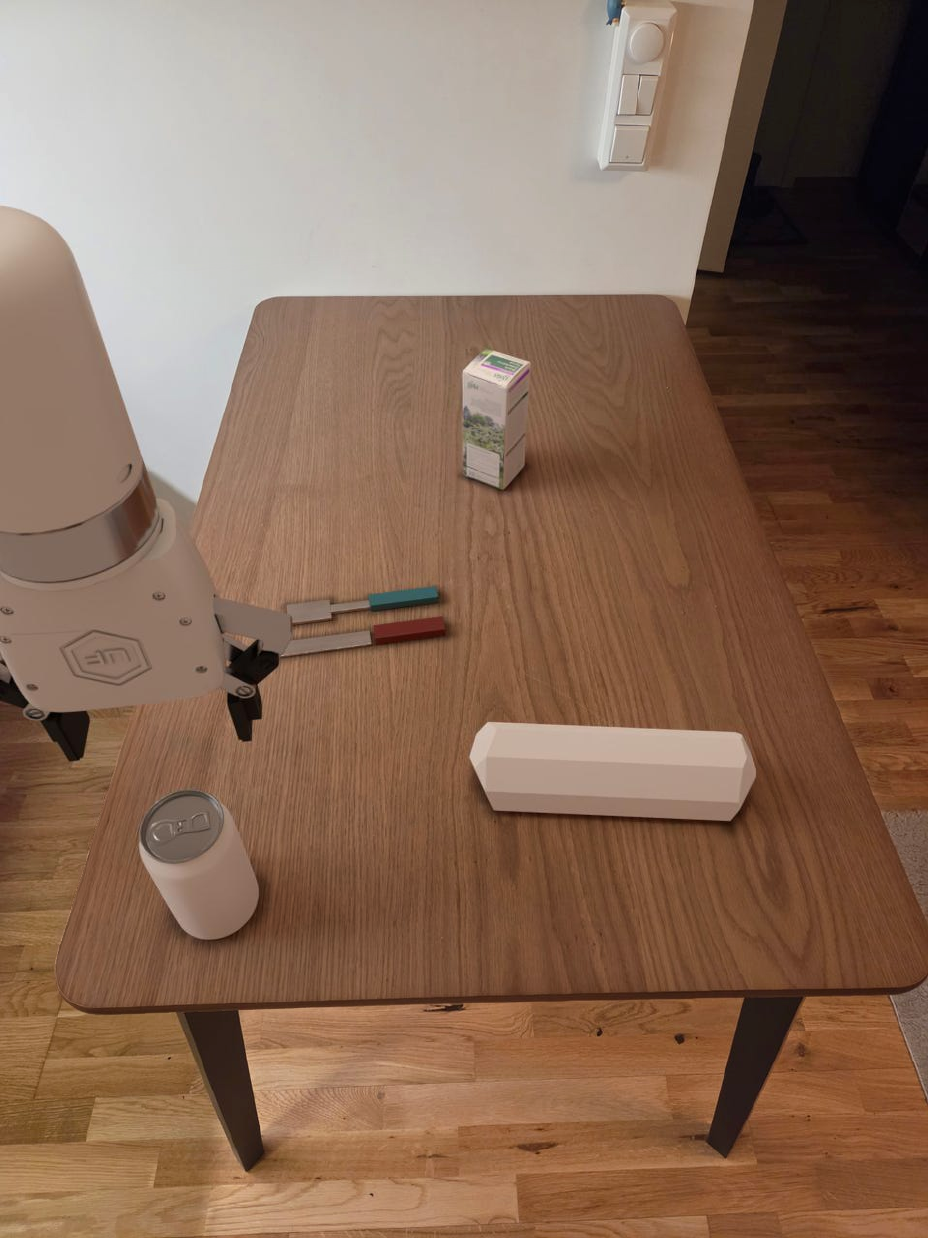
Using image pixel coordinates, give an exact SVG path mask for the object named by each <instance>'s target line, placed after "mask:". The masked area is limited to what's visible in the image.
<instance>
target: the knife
mask: <svg viewBox="0 0 928 1238" xmlns="http://www.w3.org/2000/svg"><path fill="white" fill-rule="evenodd" d="M372 628H373V634H374V635H373V636H374V641H375V642H374V643H375V645H376V646H377V645H383V644H390V643H392V644H393V643H399V642H406V641H414V640H421V639H429V638H436V637H444V636H446V624H445V621H444V616H443V615H441V616H433V617H426V618H417V619H410V620H402V621H396V622H387V623H386V622H385V623H379V624H373V625H372ZM372 645H373V644H372V637H371V630H370V629H369V630H362V631H354V632H346V633H339V634H330V635H325V636H323V635H322V636H316V637H309V638H301V639H300V638H299V639H293V640H292V639H291V640H290V642H289V644H288V646H287V648H286V650H285V652H284V653H283V654H282V655H281V657H280V659H281V658H287V657H296V656H305V655H311V654H318V653H327V652H333V651H340V650H348V649H355V648H364V647H371V646H372Z"/></svg>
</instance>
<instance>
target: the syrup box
mask: <svg viewBox="0 0 928 1238" xmlns="http://www.w3.org/2000/svg"><path fill="white" fill-rule="evenodd" d="M531 366H532V365H531V361H528V360H525V359H521V358H518V357H515V356H512V355H509V354H505V353H503V352H499V351H496V350H494V349H490V348H486V349H484V350H483V351H481V353H479V354H478V355H477V356H475V357H474V359H472V361H470V363H469V364H468V365H467V366H466V367H465V368H464V369H463V370H462V476H463V477H465V478H468V479H471V480H474V481H477V482H479V483H482V484H485V485H488V486H490V487H493V488H495V489H497V490H501V491H504V490H505V489H506V488H507V487H508V486H509V484H511V482H512V481H513V480H514V479H515V478H516V477H517V475H519V473H520V472H521V471H522V469H524V468H525V465H526V464H525V462H526V442H527V441H526V439H527V425H528V422H527V421H528V410H529V408H528V407H529V397H530V385H531V384H530V383H531V368H532V367H531Z"/></svg>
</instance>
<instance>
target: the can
mask: <svg viewBox="0 0 928 1238" xmlns="http://www.w3.org/2000/svg"><path fill="white" fill-rule="evenodd" d="M138 828H139V829H138V840H139V841H138V842H139V843H138V848H139V854H140V858H141V861H142V863H143V866H144V867H145V869H146V871H147V873H148V874H149V876H150V878H151V879H152V881H153V883H154V884H155V886H156V888H157V889H158V891H159V893H160V895H161V897H162V898H163V900H164V902H165V903H166V905H167V907H168V908H169V910H170V912H171V914H172V916H173V917H174V918H175V920H176V921H177V924H179V926H180V927H181V929H182V930H183V931H184V932H185V933H187V934H188V935H189V936H192V937H193V938H196V939H200V940H207V941H208V940H210V941H211V940H212V941H213V940H218V939H223V938H226V937H228V936H231V935H233V934H234V933H236V932H238V930H240V929H241V928H243V927H244V925H246V924H247V922H248V921H250V919H251V917H252V916H253V914H254V913H255V910H256V909H257V906H258V903H259V898H260V897H259V896H260V889H259V883H258V879H257V877H256V873H255V872H254V869H253V867H252V863H251V861H250V858H249V856H248V852H247V851H246V847H245V845H244V842H243V839H242V837H241V835H240V831H239V830H238V828H237V825H236V823H235V820H234V817H233V815H232V814H231V812H230V811H229V809H228V808H227V807H226V806H225V805H224V804H223V803H222V802H221V801H219V800H218V799H217V798H216V797H215V795H213V794H211V793H210V792H207V791H205V790H202V789H197V788H184V789H178V790H175V791H171V792H170V793H167V794H165V795H163V796H161V797H160V798H159V799H158V800H155V802H154V803H153V804H152V805H151V806H149V808H148V809H147V810H146V812H145V813H144V815H143V817H142V819H141V822H140V825H139V827H138Z"/></svg>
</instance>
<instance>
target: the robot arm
mask: <svg viewBox="0 0 928 1238" xmlns="http://www.w3.org/2000/svg"><path fill="white" fill-rule="evenodd" d="M96 317H97V316H96V315H95V312H94V309H93V306H92V302H91V300H90V297H89V293H88V290H87V288H86V285H85V282H84V278H83V276H82V273H81V271H80V268H79V264H78V263H77V261H76V258H75V255H74V253H73V251H72V249H71V247H70V246H69V244H68V243H67V241H66V240H65V239H64V238H63V236H62V235H61V234H60V233H59V231H58V230H57V229H56V228H55V227H54V226H52V225H51V224H50V223H49V222H47V221H46V220H44V219H43V218H41V217H40V216H38V215H35V214H33V213H31V212H27V211H25V210H23V209H21V208H16V207H13V206H12V207H11V206H6V205H0V702H3V703H6V704H8V705H12V706H14V707H17V708H20V709H23V711H22V715H23V717H24V718H26V719H27V720H30V721H34V722H40V723H41V725H42V726H43V728H44V730H45V731H46V733H47V734H48V736H49V738H50V739H51V741H52V742H53V743H57V744H58V746H59V747H60V749H61V751H62V752H63V754H64V756H65V757H66V759H67V761H68V762H69V763H70V762H77V761H79V762H80V761H81V759H84V755H85V751H86V747H87V746H86V745H87V741H88V733H89V729H90V723H91V718H90V715H89V713H88V711H96V710H105V709H115V708H125V707H133V706H135V707H136V706H143V705H151V704H161V703H168V702H177V701H183V700H191V699H196V698H200V697H205V696H207V695H209V694H211V693H214V692H216V691H218V690H219V689H221V690H223V691H224V692H226V693H227V694H226V704H227V708H228V712H229V715H230V717H231V721H232V724H233V727H234V730H235V733H236V736H237V739H238V741H241V742H242V743H247V742H252V741H253V721H259V720H262V719H263V701H262V696H261V692H260V687H259V684H260V683H261V682H263V681H264V680H265V679H266V678H268V676H269V675H271V674H272V673H273V672H274V671H275V670H276V669H277V668H278V667H279V665H280V659H281V658H282V657H281V655H282V654H283V653H284V652H285V650H286V648H287V646H288V644H289V642H290V641H292V639H293V625H292V617H291V616H290V615H289V614H287V612H282V611H278V610H274V609H269V608H265V607H261V606H256V605H253V604H247V603H244V602H239V601H235V600H230V599H226V598H222V597H220V596H219V593H218V590H217V588H216V585H215V583H214V580H213V578H212V576H211V573H210V571H209V569H208V567H207V564H206V562H205V560H204V558H203V555H202V554H201V552H200V550H199V548H198V546H197V544H196V543H195V540H194V538H193V537H192V535H191V534H190V532H189V530H188V528H187V527H186V525H185V523H184V522H183V520H182V519H181V517H180V516H179V515H178V513H177V512H176V510H175V508H174V507H173V505H172V504H171V503H170V502H169V501H168V500H167V499H163V498H158V497H156V494H155V490H154V488H153V487H154V486H153V485H152V481H151V479H150V476H149V473H148V469H147V467H146V463H145V461H144V458H143V456H142V453H141V449H140V446H139V443H138V440H137V437H136V434H135V431H134V428H133V425H132V423H131V420H130V416H129V413H128V410H127V407H126V403H125V401H124V398H123V396H122V392H121V389H120V387H119V383H118V381H117V377H116V375H115V372H114V368H113V366H112V362H111V360H110V357H109V354H108V351H107V348H106V345H105V342H104V341H105V340H104V339H103V335H102V333H101V330H100V326H99V323H98V320H97V318H96ZM228 634H231V635H236V636H240V637H245V638H249V639H254V640H255V641H253V642H252V643H251V644H250V645H249V646H248V645H246V644H244V643H242V642H240V641H239V640H237V639H235V638H234V637H231V636H230V635H228ZM280 657H281V658H280ZM227 662H230V663H229V665H228V666H227Z"/></svg>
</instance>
